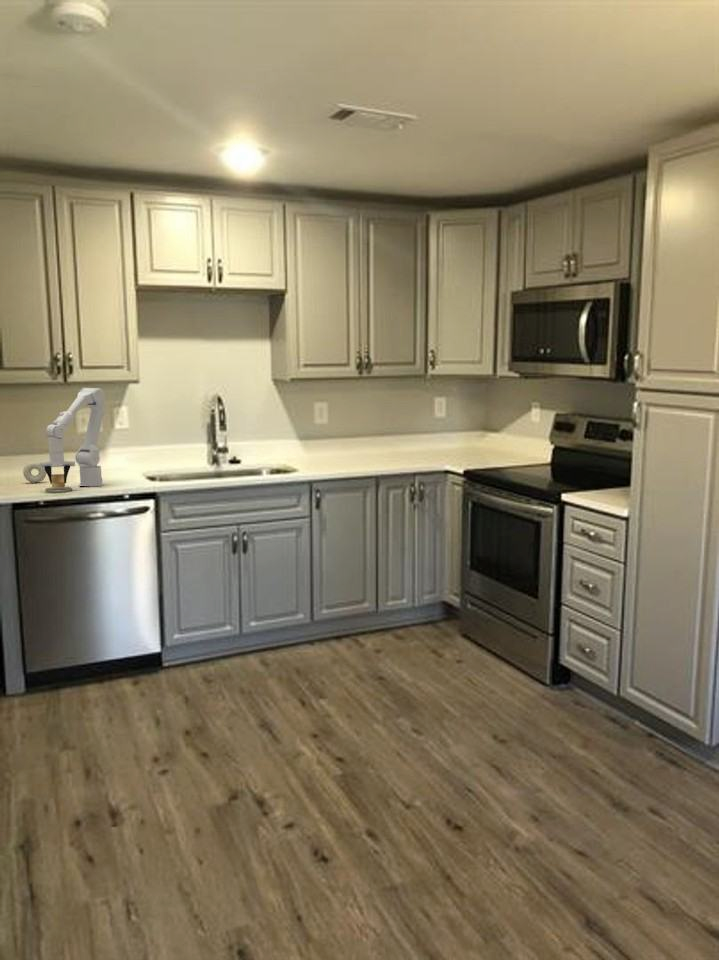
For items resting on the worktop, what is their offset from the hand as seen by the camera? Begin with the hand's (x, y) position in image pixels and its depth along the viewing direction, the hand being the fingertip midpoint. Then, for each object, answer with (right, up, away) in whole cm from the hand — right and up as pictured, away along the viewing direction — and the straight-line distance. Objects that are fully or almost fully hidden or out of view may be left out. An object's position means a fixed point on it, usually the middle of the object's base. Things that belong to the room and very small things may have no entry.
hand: (58, 483), depth 345 cm
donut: (-18, 0, +21) cm, 28 cm away
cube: (0, -1, 0) cm, 1 cm away
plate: (0, -3, +1) cm, 3 cm away
